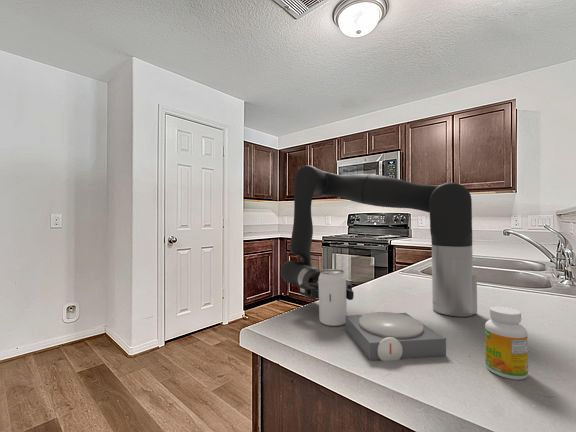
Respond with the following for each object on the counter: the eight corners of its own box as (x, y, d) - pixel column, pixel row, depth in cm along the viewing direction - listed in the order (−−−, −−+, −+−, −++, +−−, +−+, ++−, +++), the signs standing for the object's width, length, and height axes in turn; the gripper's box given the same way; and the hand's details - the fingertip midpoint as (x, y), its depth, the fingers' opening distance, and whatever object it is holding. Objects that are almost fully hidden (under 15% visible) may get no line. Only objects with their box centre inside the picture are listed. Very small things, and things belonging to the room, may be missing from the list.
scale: (405, 328, 65) (405, 309, 65) (448, 360, 50) (447, 335, 50) (345, 332, 63) (345, 312, 64) (371, 365, 49) (371, 339, 49)
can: (345, 328, 64) (343, 274, 64) (316, 325, 66) (315, 273, 66) (348, 318, 70) (347, 269, 70) (322, 316, 72) (321, 268, 72)
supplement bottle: (477, 363, 48) (476, 305, 48) (507, 361, 49) (506, 304, 49) (504, 381, 43) (503, 316, 43) (537, 379, 43) (536, 314, 43)
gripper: (290, 270, 80) (312, 282, 64) (336, 266, 84) (368, 278, 68) (290, 296, 80) (312, 316, 64) (337, 292, 84) (369, 309, 68)
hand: (341, 296), depth 66 cm, fingers closed on can, 4 cm apart
